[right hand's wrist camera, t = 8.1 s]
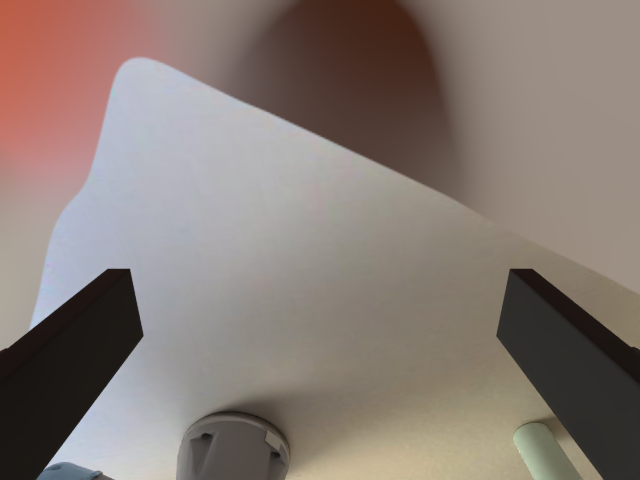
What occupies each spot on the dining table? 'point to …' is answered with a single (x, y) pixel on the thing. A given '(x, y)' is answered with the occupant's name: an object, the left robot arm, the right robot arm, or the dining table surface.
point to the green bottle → (543, 453)
